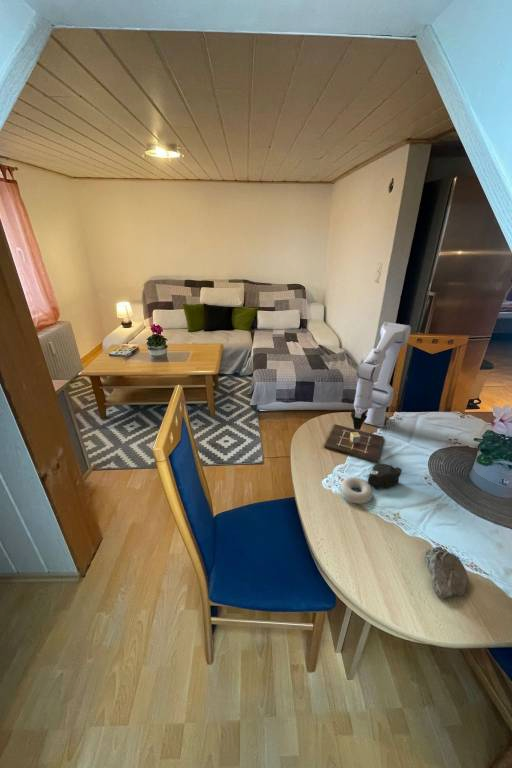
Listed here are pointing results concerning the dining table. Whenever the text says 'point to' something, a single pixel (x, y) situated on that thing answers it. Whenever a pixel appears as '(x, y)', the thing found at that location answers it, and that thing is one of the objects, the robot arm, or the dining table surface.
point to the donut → (356, 496)
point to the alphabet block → (355, 437)
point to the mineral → (384, 476)
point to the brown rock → (446, 572)
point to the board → (363, 449)
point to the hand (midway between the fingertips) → (358, 423)
